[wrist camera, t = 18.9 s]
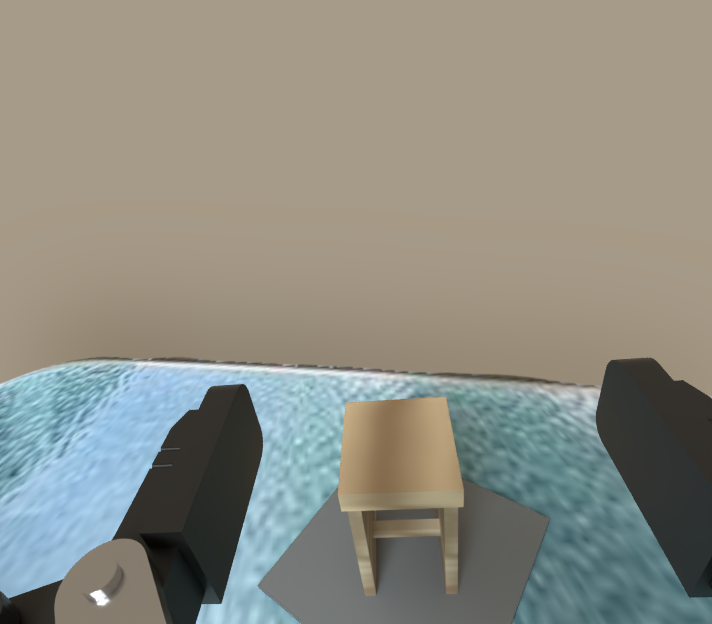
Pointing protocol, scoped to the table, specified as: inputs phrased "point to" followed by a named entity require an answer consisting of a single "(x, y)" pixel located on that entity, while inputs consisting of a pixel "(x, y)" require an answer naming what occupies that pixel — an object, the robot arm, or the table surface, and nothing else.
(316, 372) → the table surface
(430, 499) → the pine stool
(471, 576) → the charcoal mat
